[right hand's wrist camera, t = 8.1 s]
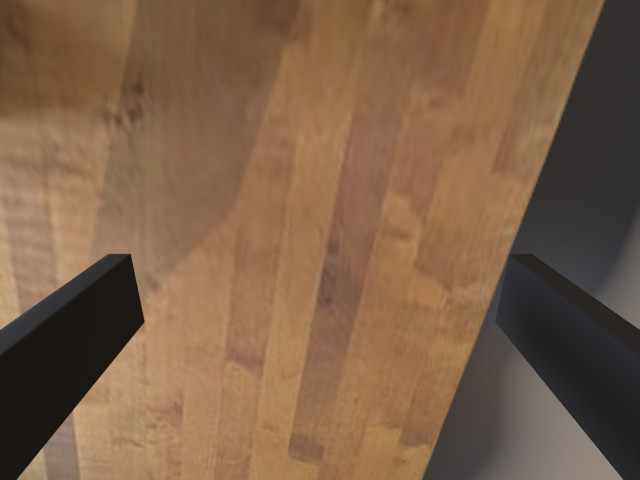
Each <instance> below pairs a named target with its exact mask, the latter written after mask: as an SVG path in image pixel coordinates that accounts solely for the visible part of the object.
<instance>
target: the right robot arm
mask: <svg viewBox="0 0 640 480" xmlns="http://www.w3.org/2000/svg"><path fill="white" fill-rule="evenodd" d="M144 322H145V321H144V316H143V312H142V307H141V302H140V297H139V292H138V287H137V283H136V278H135V273H134V268H133V263H132V258H131V254H108V255H106V256H105V257H103V258H102V259H101V260H99V261H98V262H96V263H95V264H93V265H92V266H91V267H89V268H88V269H86V270H85V271H84V272H82V273H81V274H79V275H78V276H76V277H75V278H74V279H72V280H71V281H69V282H68V283H66V284H65V285H64V286H62V287H61V288H59V289H58V290H56V291H55V292H54V293H52V294H51V295H49V296H48V297H46V298H45V299H44V300H42V301H41V302H39V303H38V304H37V305H35V306H34V307H32V308H31V309H29V310H28V311H27V312H25V313H24V314H22V315H21V316H19V317H18V318H17V319H15V320H14V321H12V322H11V323H9V324H8V325H7V326H5V327H4V328H2V329H1V330H0V480H17V479H18V477H19V476H20V475H21V474H22V472H23V471H24V470H25V469H26V467H27V466H28V465H29V464H30V463H31V461H32V460H33V459H34V458H35V456H36V455H37V454H38V453H39V451H40V450H41V449H42V448H43V447H44V445H45V444H46V443H47V442H48V440H49V439H50V438H51V437H52V435H53V434H54V433H55V432H56V430H57V429H58V428H59V427H60V426H61V424H62V423H63V422H64V421H65V419H66V418H67V417H68V416H69V414H70V413H71V412H72V411H73V410H74V408H75V407H76V406H77V405H78V403H79V402H80V401H81V400H82V398H83V397H84V396H85V395H86V393H87V392H88V391H89V390H90V389H91V387H92V386H93V385H94V384H95V382H96V381H97V380H98V379H99V377H100V376H101V375H102V374H103V373H104V371H105V370H106V369H107V368H108V366H109V365H110V364H111V363H112V361H113V360H114V359H115V358H116V356H117V355H118V354H119V353H120V352H121V350H122V349H123V348H124V347H125V345H126V344H127V343H128V342H129V340H130V339H131V338H132V337H133V336H134V334H135V333H136V332H137V331H138V329H139V328H140V327H141V326H142V324H143V323H144ZM496 323H497V324H498V326H499V327H500V328H501V329H502V331H503V332H504V333H505V334H506V336H507V337H508V338H509V339H510V340H511V342H512V343H513V344H514V345H515V347H516V348H517V349H518V350H519V352H520V353H521V354H522V355H523V356H524V358H525V359H526V360H527V361H528V363H529V364H530V365H531V366H532V367H533V369H534V370H535V371H536V373H537V374H538V375H539V376H540V377H541V379H542V380H543V381H544V382H545V384H546V385H547V386H548V387H549V388H550V390H551V391H552V392H553V393H554V395H555V396H556V397H557V398H558V400H559V401H560V402H561V403H562V405H563V406H564V407H565V408H566V410H567V411H568V412H569V413H570V414H571V416H572V417H573V418H574V419H575V421H576V422H577V423H578V424H579V426H580V427H581V428H582V429H583V430H584V432H585V433H586V434H587V435H588V437H589V438H590V439H591V440H592V442H593V443H594V444H595V445H596V447H597V448H598V449H599V450H600V451H601V453H602V454H603V455H604V456H605V458H606V459H607V460H608V461H609V462H610V464H611V465H612V466H613V467H614V469H615V470H616V471H617V472H618V474H619V475H620V476H621V477H622V479H623V480H640V329H638V328H636V327H635V326H633V325H632V324H631V323H629V322H628V321H626V320H625V319H623V318H622V317H621V316H619V315H618V314H616V313H615V312H613V311H612V310H611V309H609V308H608V307H606V306H605V305H603V304H602V303H601V302H599V301H598V300H596V299H595V298H594V297H592V296H591V295H589V294H588V293H586V292H585V291H584V290H582V289H581V288H579V287H578V286H576V285H575V284H574V283H572V282H571V281H569V280H568V279H566V278H565V277H564V276H562V275H561V274H559V273H558V272H556V271H555V270H554V269H552V268H551V267H549V266H548V265H547V264H545V263H544V262H542V261H541V260H539V259H538V258H537V257H535V256H534V255H532V254H509V258H508V263H507V268H506V273H505V278H504V283H503V288H502V292H501V297H500V302H499V307H498V312H497V316H496Z"/></svg>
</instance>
